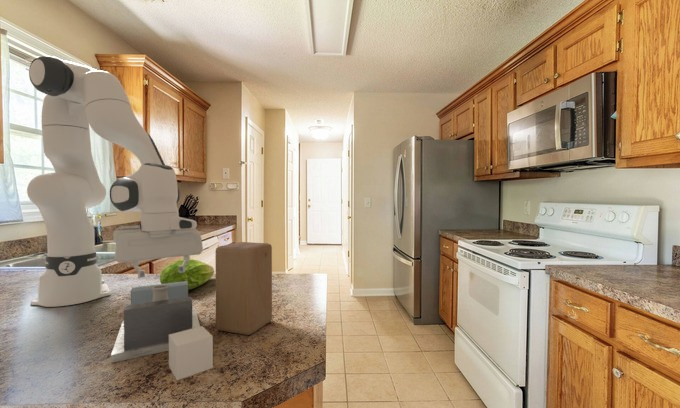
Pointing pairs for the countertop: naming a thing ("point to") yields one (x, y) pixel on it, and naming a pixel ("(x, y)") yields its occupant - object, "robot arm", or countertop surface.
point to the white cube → (190, 352)
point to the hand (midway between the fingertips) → (162, 274)
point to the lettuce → (187, 273)
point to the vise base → (152, 327)
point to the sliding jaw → (146, 293)
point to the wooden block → (243, 287)
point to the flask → (160, 293)
